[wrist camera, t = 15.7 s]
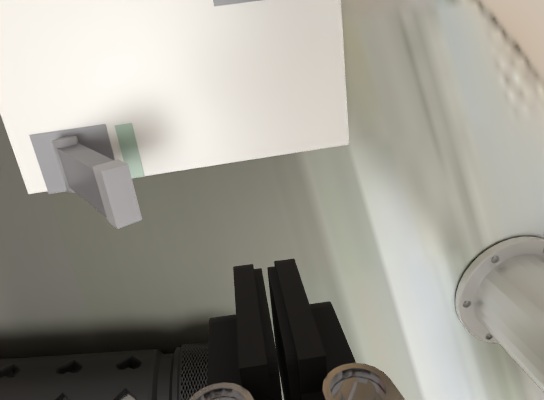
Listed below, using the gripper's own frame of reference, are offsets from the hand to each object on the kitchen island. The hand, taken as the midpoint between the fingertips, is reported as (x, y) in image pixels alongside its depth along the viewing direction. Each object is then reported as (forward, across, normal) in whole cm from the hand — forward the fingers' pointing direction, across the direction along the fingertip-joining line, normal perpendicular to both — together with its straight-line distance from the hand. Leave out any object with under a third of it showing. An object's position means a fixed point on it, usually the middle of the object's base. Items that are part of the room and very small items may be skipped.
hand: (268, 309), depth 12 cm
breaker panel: (+27, +4, -6) cm, 28 cm away
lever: (+21, +12, 0) cm, 24 cm away
